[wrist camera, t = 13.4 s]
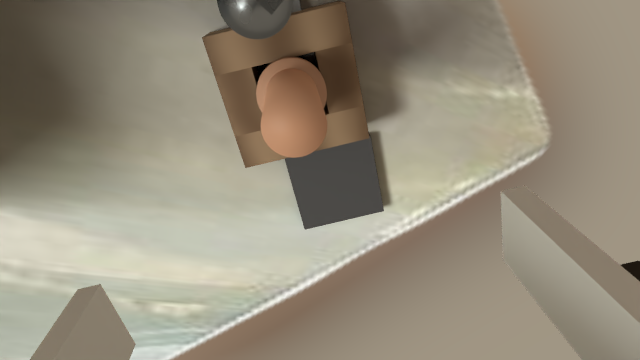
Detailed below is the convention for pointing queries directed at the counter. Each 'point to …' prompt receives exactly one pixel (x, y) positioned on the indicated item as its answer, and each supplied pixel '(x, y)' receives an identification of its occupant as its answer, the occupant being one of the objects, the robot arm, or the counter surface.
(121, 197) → the counter surface
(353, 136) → the socket block
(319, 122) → the peg
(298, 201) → the mat
